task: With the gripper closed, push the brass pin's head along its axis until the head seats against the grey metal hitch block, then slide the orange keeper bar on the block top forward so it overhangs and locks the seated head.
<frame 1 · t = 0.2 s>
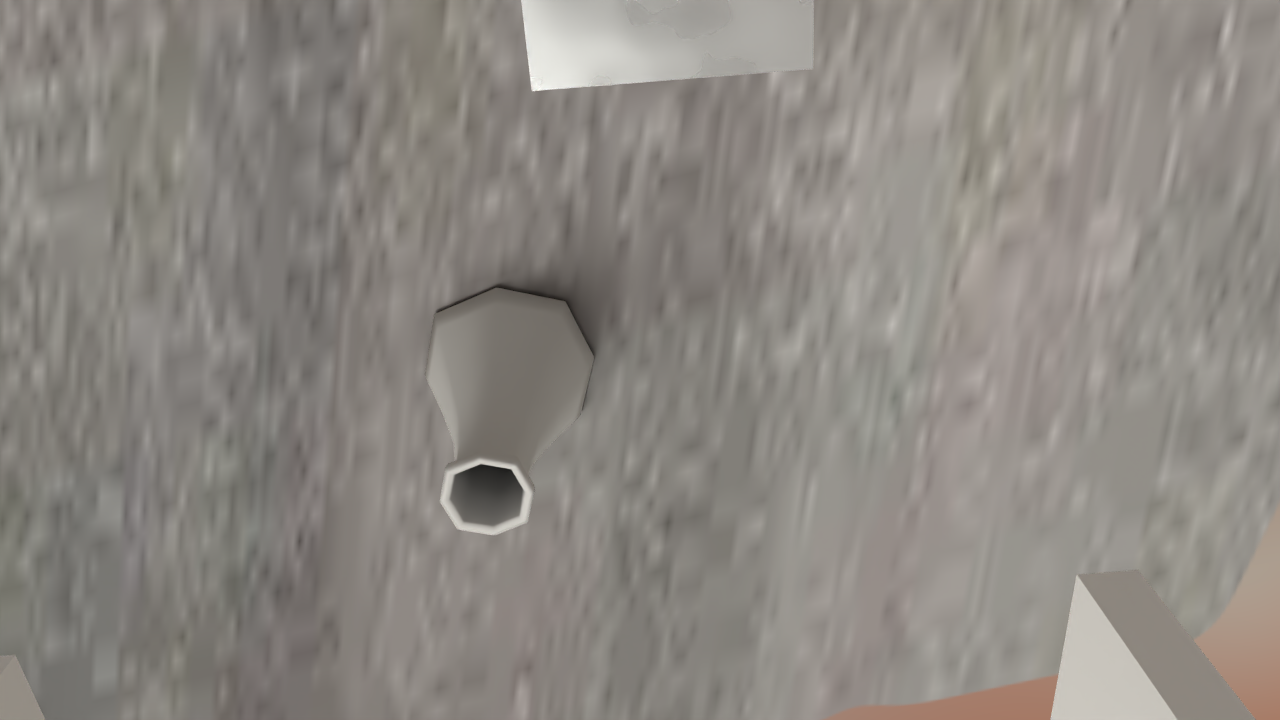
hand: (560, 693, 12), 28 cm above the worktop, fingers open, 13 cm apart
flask: (510, 361, 41), on the worktop
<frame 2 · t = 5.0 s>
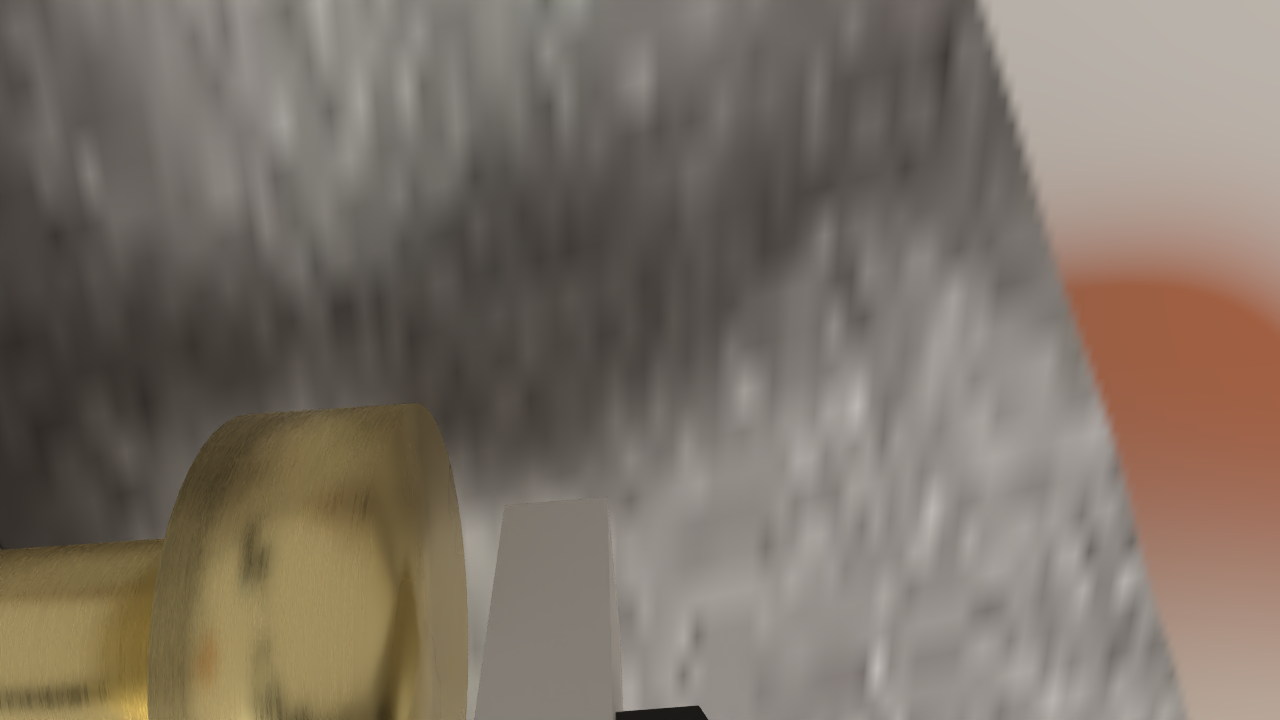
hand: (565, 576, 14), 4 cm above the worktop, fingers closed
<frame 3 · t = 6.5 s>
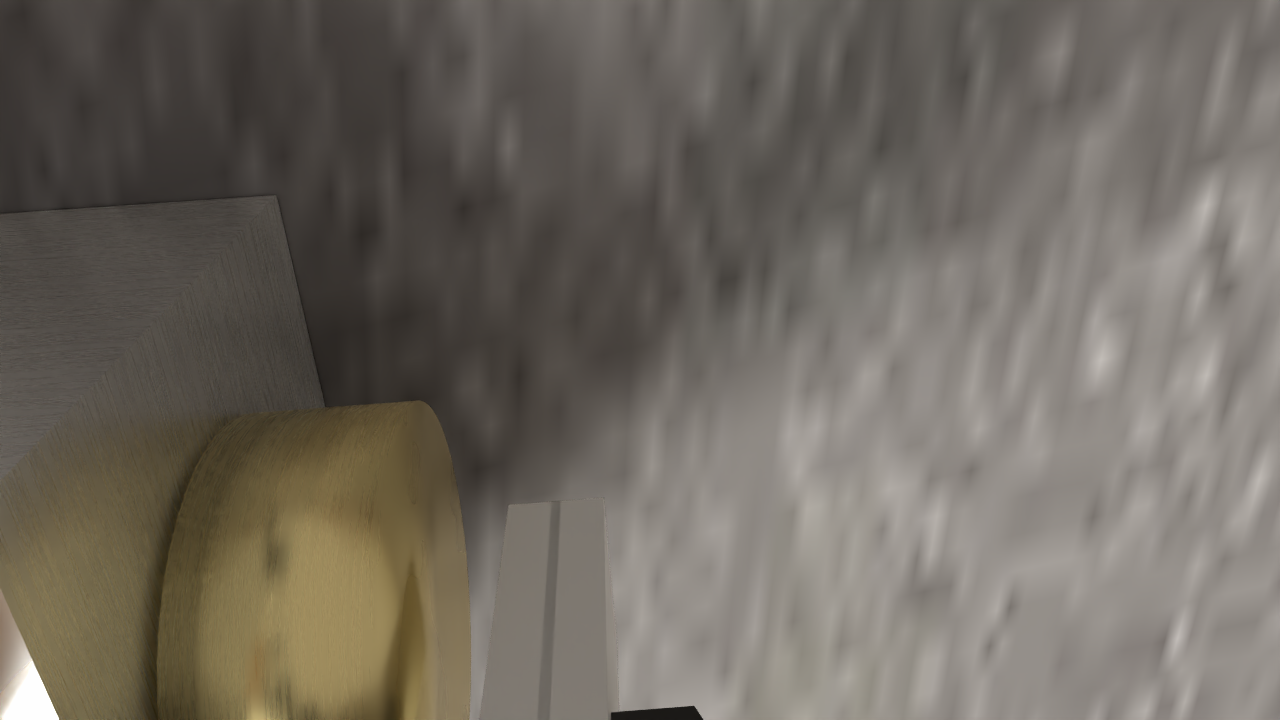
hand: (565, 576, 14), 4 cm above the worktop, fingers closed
hitch block: (121, 467, 18), on the worktop
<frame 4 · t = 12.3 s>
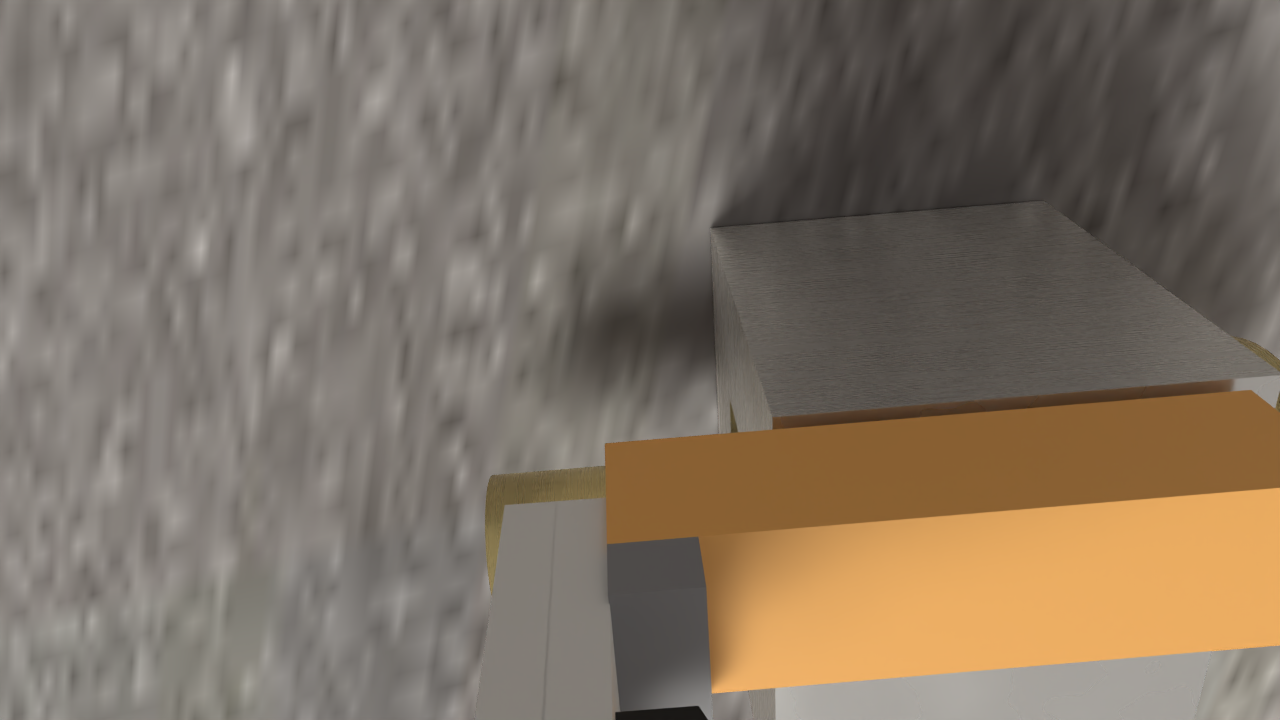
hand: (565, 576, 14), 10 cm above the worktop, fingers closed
keeper bar: (959, 561, 14), point 11 cm above the worktop, slide at 0.4 cm, touching gripper
hitch block: (869, 397, 25), on the worktop
pin: (867, 514, 21), point 5 cm above the worktop, slide at 0.0 cm
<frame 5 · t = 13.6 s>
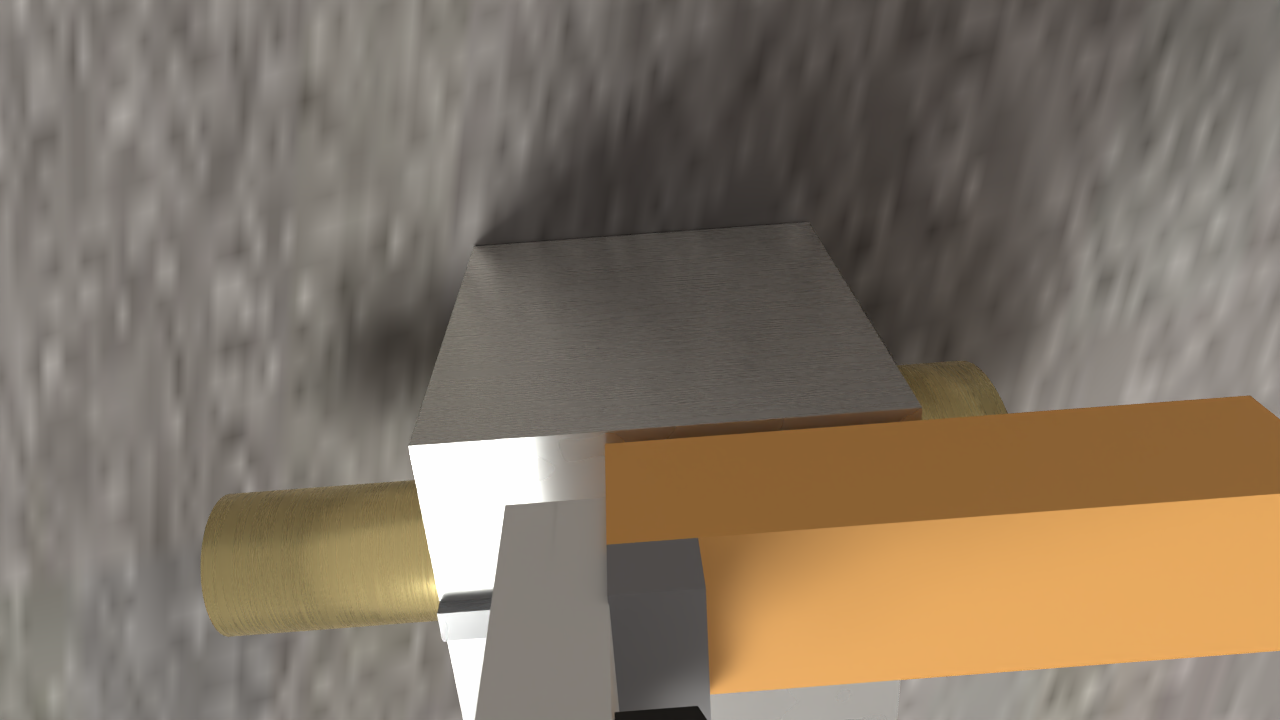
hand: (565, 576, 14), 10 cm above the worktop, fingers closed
keeper bar: (958, 564, 14), point 11 cm above the worktop, slide at 6.0 cm, touching gripper
hitch block: (653, 415, 25), on the worktop
pin: (603, 536, 21), point 5 cm above the worktop, slide at 0.0 cm
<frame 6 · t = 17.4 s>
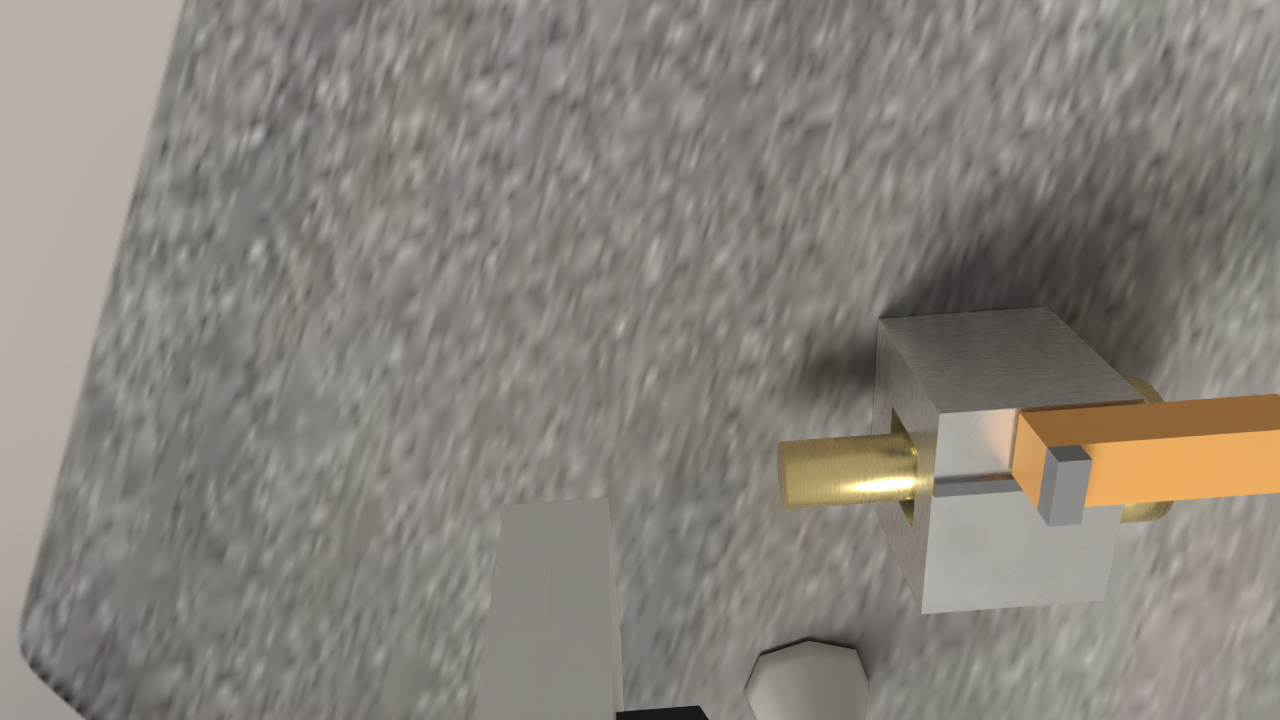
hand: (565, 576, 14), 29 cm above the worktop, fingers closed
keeper bar: (1165, 458, 36), point 11 cm above the worktop, slide at 6.0 cm
hitch block: (953, 405, 48), on the worktop
pin: (961, 461, 43), point 5 cm above the worktop, slide at 0.0 cm
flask: (805, 682, 56), on the worktop
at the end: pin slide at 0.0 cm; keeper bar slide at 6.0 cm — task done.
